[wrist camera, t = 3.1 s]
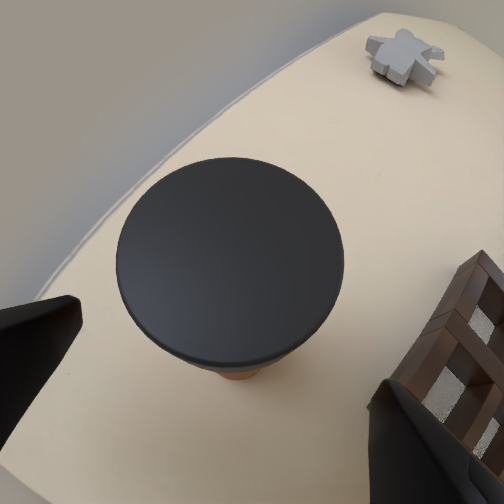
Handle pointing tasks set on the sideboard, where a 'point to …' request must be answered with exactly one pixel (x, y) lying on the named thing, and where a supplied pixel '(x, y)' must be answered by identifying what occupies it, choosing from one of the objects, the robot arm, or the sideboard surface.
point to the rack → (465, 357)
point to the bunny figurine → (403, 57)
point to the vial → (230, 264)
